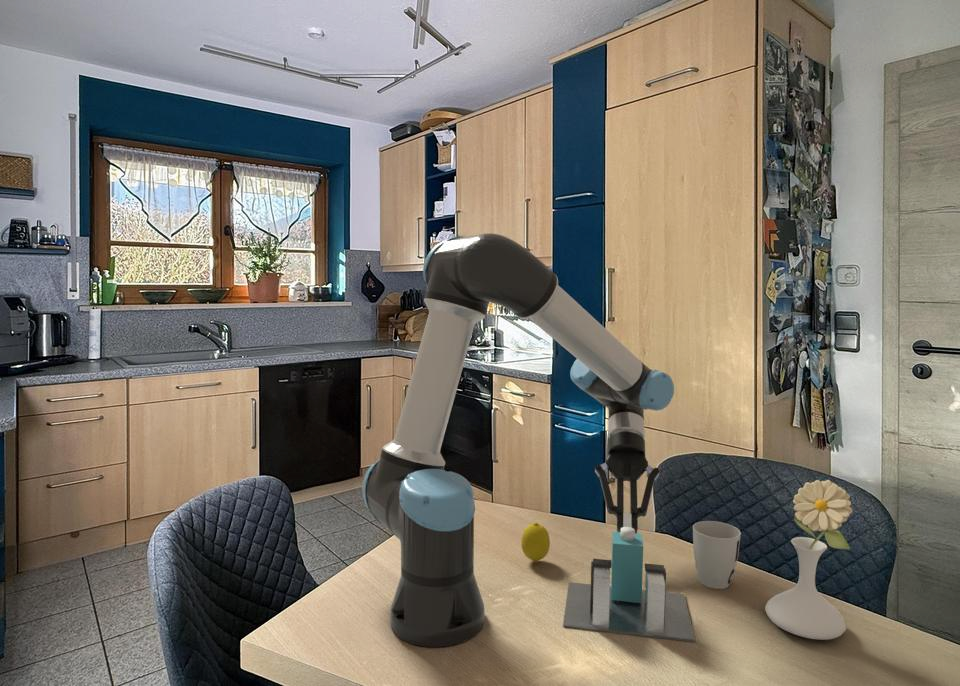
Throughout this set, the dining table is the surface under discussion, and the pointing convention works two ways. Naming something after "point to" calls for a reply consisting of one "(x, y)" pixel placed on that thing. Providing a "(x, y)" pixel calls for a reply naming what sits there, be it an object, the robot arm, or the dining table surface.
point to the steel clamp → (628, 606)
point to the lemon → (535, 542)
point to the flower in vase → (813, 564)
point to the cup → (715, 552)
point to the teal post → (627, 566)
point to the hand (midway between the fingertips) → (627, 549)
